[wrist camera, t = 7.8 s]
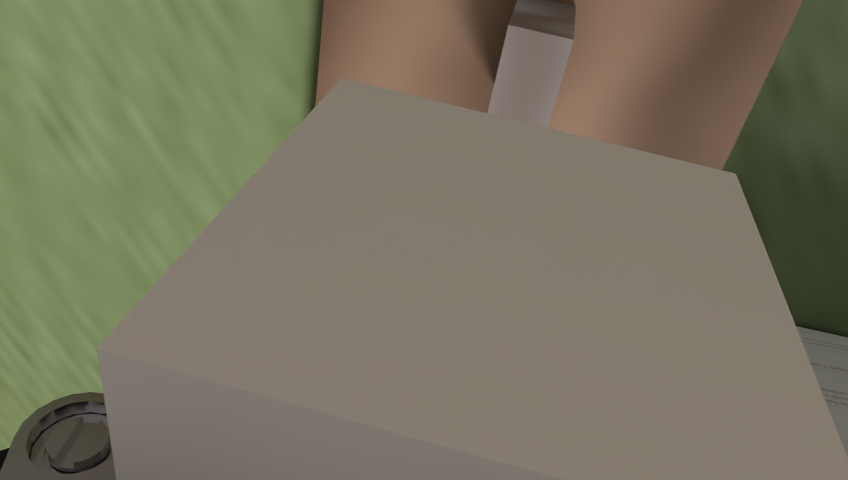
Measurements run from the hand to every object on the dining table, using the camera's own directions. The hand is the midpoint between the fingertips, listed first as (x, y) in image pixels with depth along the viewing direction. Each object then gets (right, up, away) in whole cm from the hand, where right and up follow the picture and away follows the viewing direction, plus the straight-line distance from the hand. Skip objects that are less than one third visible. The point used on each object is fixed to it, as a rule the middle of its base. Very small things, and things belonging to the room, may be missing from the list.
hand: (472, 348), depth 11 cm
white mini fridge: (0, 0, +1) cm, 1 cm away
